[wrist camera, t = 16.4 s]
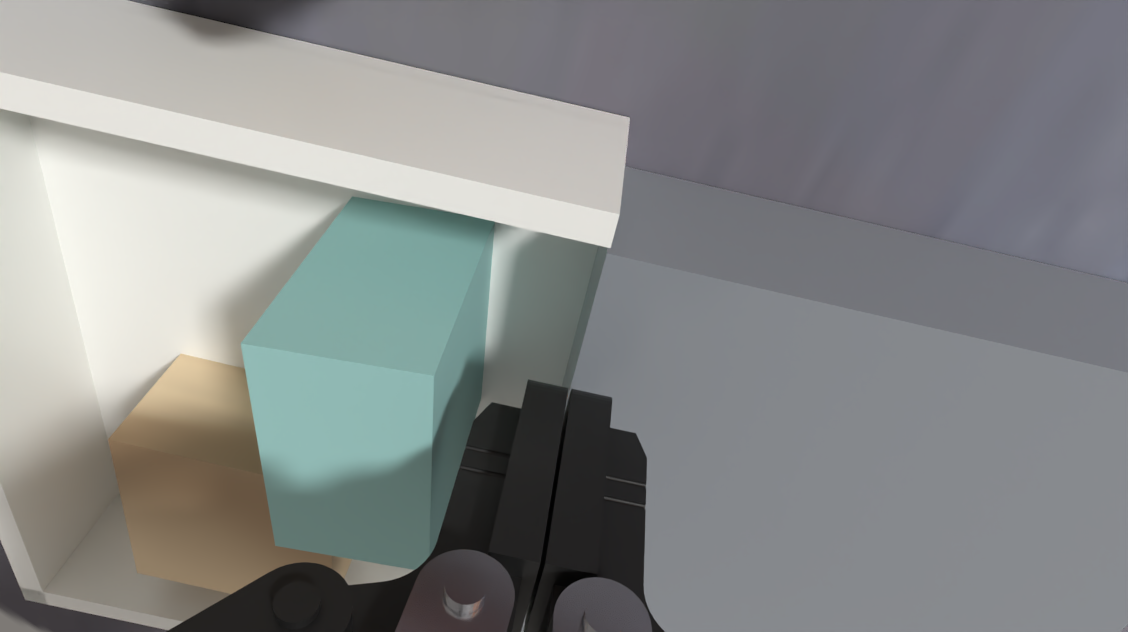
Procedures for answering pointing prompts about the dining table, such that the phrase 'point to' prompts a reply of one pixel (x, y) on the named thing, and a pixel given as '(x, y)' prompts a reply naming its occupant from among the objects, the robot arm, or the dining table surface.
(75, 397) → the tray
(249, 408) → the thick tan wooden block
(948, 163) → the dining table surface
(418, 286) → the seafoam green cuboid
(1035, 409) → the board
